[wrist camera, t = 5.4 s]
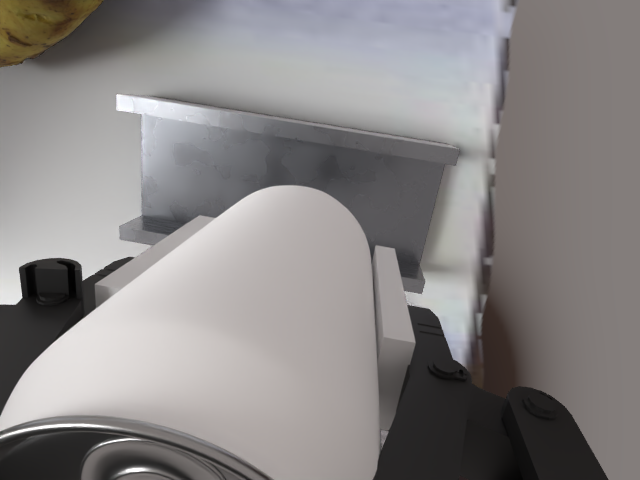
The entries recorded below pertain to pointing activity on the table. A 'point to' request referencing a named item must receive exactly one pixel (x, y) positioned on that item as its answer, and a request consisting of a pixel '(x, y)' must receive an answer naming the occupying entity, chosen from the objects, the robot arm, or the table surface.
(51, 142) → the table surface
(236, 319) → the can
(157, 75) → the table surface
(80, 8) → the potato
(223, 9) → the table surface
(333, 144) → the track
